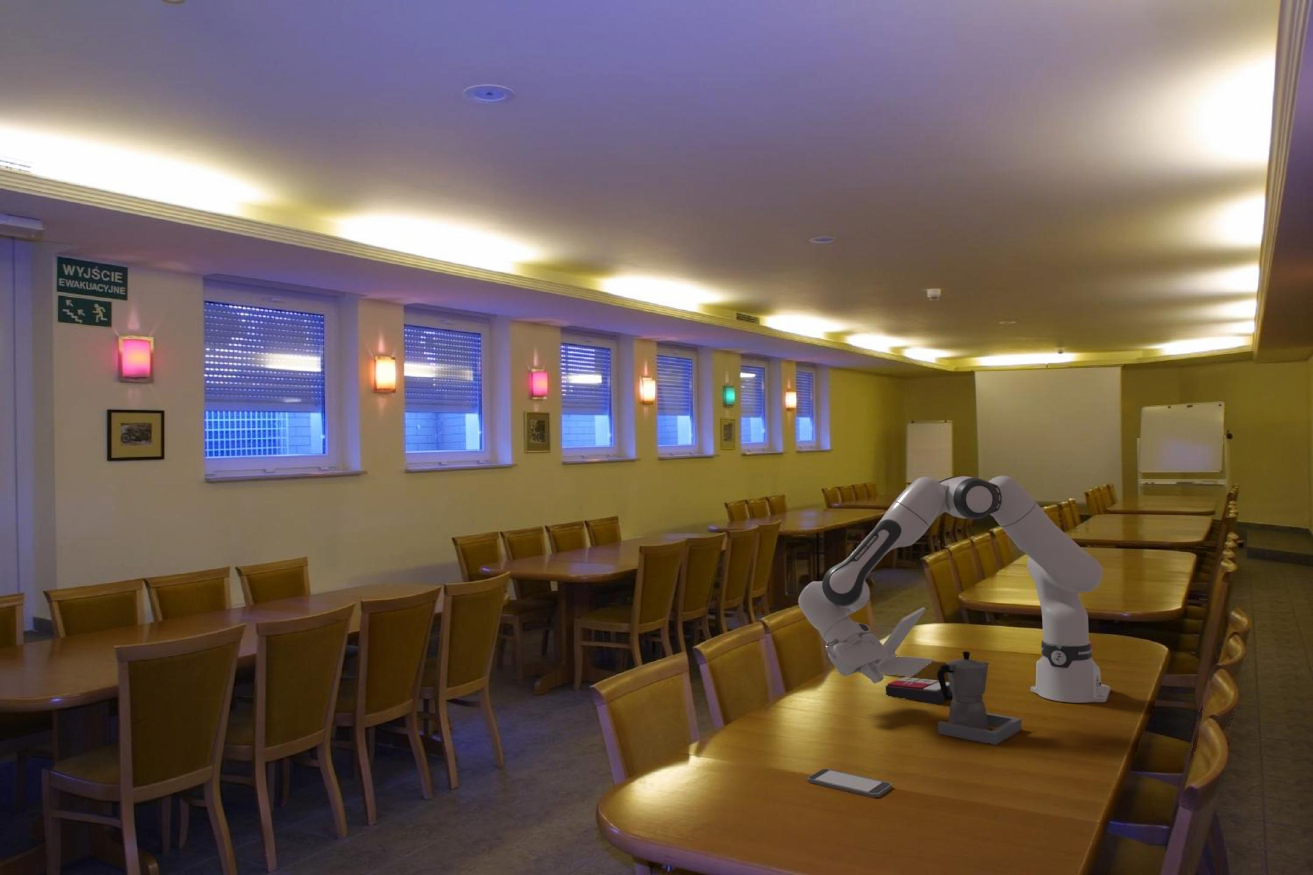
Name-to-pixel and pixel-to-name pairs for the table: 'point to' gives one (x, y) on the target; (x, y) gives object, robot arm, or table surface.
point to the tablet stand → (893, 663)
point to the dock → (1004, 730)
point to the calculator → (918, 690)
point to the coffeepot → (965, 691)
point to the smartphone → (850, 782)
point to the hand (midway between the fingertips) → (879, 680)
